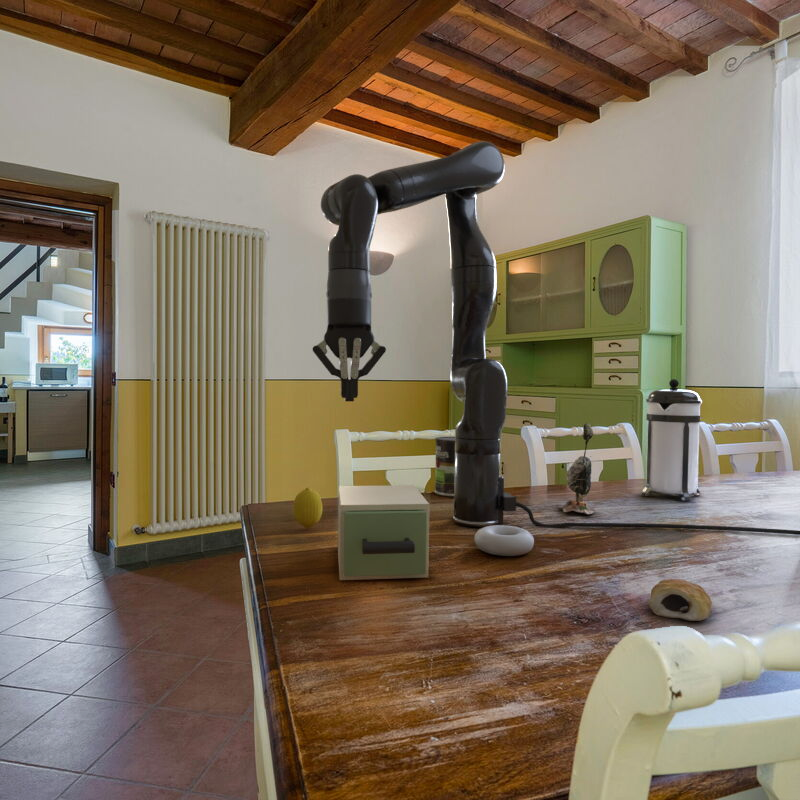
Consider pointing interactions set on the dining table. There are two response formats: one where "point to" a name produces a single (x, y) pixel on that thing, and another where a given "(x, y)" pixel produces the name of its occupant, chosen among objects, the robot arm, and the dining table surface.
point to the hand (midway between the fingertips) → (349, 401)
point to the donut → (504, 540)
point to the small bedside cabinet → (377, 501)
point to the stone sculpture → (580, 479)
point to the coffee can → (445, 466)
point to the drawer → (385, 542)
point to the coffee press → (673, 442)
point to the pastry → (680, 600)
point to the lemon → (307, 508)
